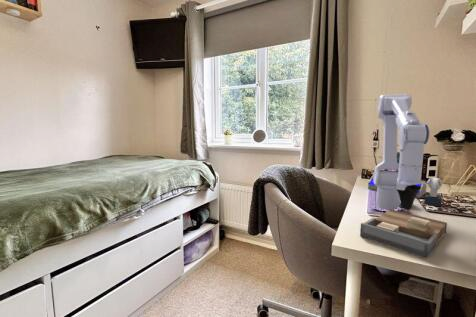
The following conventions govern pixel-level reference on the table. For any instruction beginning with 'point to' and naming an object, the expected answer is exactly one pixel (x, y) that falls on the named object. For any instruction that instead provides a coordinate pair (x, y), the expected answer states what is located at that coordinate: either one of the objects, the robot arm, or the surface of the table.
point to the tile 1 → (388, 227)
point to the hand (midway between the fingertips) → (406, 208)
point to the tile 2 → (418, 223)
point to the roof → (423, 186)
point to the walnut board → (401, 221)
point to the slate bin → (398, 239)
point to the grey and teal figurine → (433, 192)
